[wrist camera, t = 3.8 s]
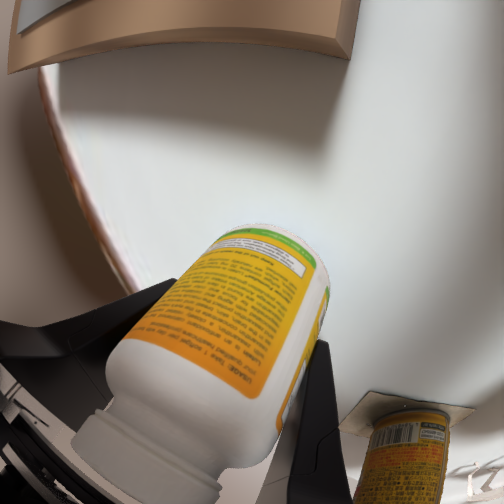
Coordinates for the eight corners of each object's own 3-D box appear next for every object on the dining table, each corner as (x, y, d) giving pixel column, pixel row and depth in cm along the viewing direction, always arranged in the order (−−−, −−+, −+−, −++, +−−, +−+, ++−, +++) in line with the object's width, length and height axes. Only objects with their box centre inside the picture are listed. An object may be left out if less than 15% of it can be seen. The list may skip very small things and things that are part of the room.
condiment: (423, 444, 16) (389, 569, 7) (335, 427, 18) (280, 559, 9) (476, 406, 12) (448, 573, 2) (371, 386, 14) (303, 578, 5)
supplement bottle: (194, 240, 13) (33, 403, 5) (297, 200, 10) (88, 483, 2) (251, 327, 14) (147, 489, 7) (349, 314, 11) (263, 547, 4)
